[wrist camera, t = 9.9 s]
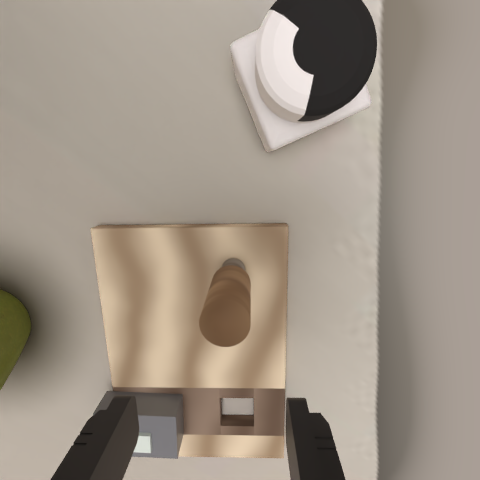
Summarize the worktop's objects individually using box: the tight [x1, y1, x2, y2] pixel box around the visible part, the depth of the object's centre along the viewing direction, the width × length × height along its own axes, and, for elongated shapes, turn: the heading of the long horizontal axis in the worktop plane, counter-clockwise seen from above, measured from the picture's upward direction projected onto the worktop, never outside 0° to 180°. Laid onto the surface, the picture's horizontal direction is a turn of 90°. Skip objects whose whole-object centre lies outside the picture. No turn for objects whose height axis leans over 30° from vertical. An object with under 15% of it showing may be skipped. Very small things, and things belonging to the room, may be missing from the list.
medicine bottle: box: [230, 0, 377, 152], centre depth 21 cm, size 7×7×12 cm
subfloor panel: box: [91, 223, 288, 458], centre depth 32 cm, size 18×26×2 cm
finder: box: [93, 391, 184, 459], centre depth 32 cm, size 8×5×3 cm, turn 89°
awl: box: [199, 258, 251, 347], centre depth 24 cm, size 3×3×10 cm
